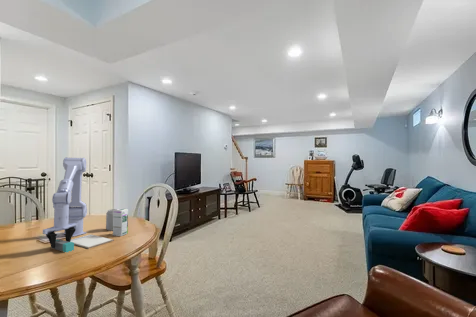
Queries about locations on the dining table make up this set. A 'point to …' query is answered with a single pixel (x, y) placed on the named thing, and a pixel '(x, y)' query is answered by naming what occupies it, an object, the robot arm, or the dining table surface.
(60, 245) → the grey teal rectangular block
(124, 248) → the dining table surface
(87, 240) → the notepad
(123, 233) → the syrup box
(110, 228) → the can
